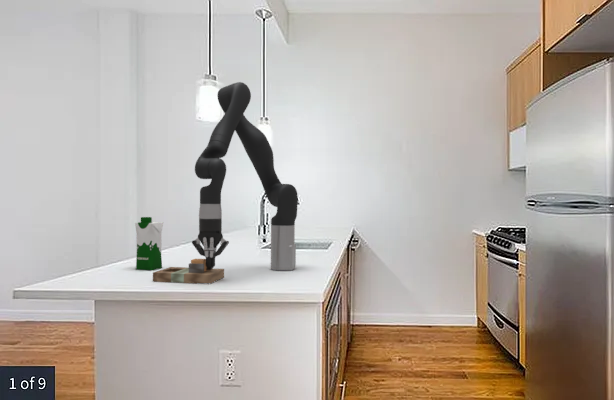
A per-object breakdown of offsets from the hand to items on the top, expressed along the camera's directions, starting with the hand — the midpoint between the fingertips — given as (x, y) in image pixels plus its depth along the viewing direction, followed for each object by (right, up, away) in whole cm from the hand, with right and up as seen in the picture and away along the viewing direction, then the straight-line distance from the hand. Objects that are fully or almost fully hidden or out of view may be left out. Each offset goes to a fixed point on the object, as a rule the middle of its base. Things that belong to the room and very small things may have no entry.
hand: (210, 268), depth 189 cm
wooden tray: (-7, -4, +2) cm, 9 cm away
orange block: (-4, -1, +1) cm, 4 cm away
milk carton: (-28, -4, +26) cm, 39 cm away
